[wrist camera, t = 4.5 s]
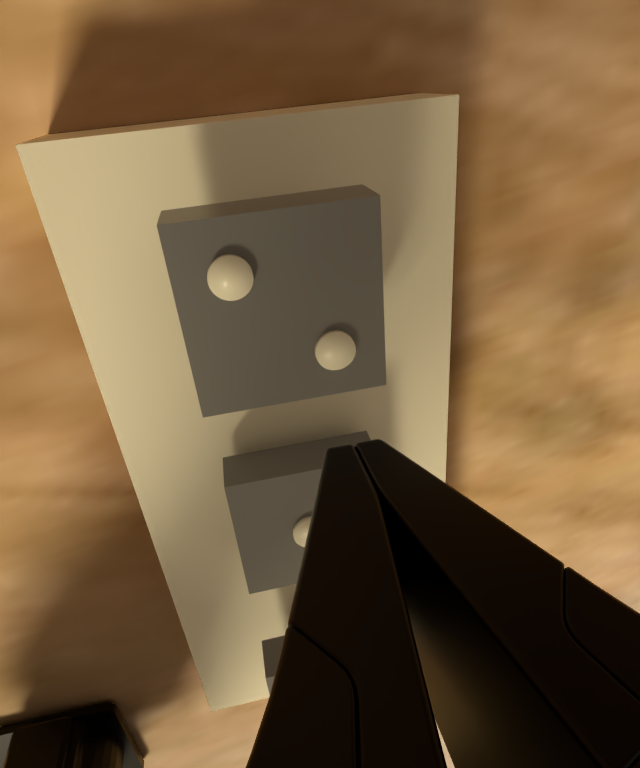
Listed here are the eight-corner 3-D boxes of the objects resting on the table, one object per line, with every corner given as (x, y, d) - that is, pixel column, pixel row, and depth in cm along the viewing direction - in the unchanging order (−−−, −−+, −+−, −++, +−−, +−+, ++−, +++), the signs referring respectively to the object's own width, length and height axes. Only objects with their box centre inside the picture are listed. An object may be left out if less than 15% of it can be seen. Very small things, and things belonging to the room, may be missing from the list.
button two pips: (370, 359, 15) (389, 388, 14) (202, 388, 15) (202, 422, 13) (362, 184, 13) (382, 197, 11) (161, 210, 12) (155, 227, 11)
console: (417, 604, 28) (439, 655, 26) (210, 652, 27) (211, 711, 25) (418, 93, 16) (459, 94, 14) (47, 134, 15) (15, 144, 13)
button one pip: (372, 534, 20) (385, 569, 19) (246, 560, 20) (249, 598, 18) (366, 430, 18) (381, 461, 16) (222, 457, 17) (224, 491, 16)
